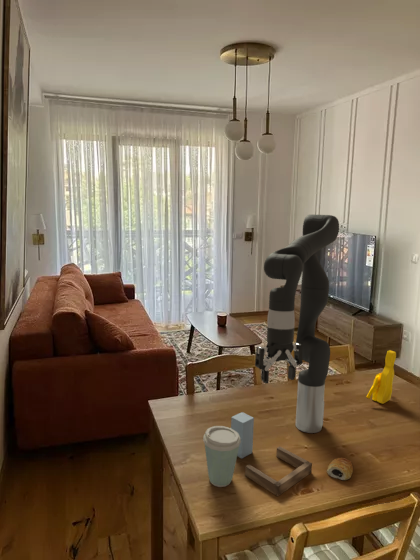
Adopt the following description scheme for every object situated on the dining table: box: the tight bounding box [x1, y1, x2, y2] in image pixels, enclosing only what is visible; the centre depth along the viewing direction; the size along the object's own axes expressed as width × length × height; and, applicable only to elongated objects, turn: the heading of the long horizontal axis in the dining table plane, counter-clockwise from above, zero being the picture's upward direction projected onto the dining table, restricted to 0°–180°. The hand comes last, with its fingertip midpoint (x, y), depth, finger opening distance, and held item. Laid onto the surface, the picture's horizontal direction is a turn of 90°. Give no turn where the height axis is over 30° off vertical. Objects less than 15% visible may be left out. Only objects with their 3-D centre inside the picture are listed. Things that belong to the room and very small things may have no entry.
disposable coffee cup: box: [202, 425, 241, 488], centre depth 120 cm, size 11×11×15 cm
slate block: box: [230, 411, 255, 459], centre depth 135 cm, size 5×5×12 cm
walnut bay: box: [244, 445, 313, 497], centre depth 125 cm, size 16×12×3 cm
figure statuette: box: [365, 349, 397, 405], centre depth 173 cm, size 18×8×22 cm, turn 131°
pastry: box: [326, 457, 354, 481], centre depth 127 cm, size 9×7×4 cm
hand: (278, 380), depth 121 cm, fingers open, 8 cm apart
